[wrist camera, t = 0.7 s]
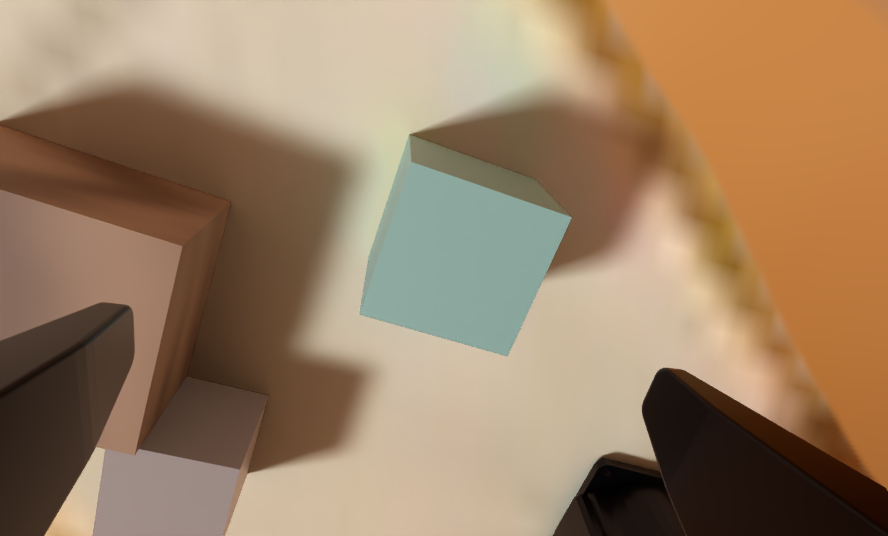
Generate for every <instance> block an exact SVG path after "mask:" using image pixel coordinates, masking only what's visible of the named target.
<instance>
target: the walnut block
mask: <svg viewBox="0 0 888 536" xmlns="http://www.w3.org/2000/svg"><path fill="white" fill-rule="evenodd" d="M230 205H231V202H230V201H227V200H224V199H221V198H218V197H215V196H212V195H209V194H206V193H203V192H200V191H197V190H194V189H191V188H188V187H185V186H182V185H179V184H176V183H173V182H170V181H167V180H164V179H161V178H158V177H155V176H152V175H149V174H146V173H143V172H140V171H137V170H134V169H131V168H128V167H125V166H122V165H119V164H116V163H113V162H110V161H107V160H104V159H101V158H98V157H95V156H92V155H89V154H86V153H83V152H80V151H77V150H74V149H71V148H68V147H65V146H62V145H59V144H56V143H53V142H50V141H47V140H44V139H41V138H38V137H35V136H32V135H29V134H26V133H23V132H20V131H17V130H14V129H11V128H8V127H5V126H2V125H0V341H1V340H3V339H6V338H9V337H11V336H14V335H16V334H19V333H22V332H24V331H27V330H29V329H32V328H35V327H37V326H40V325H43V324H45V323H48V322H50V321H53V320H56V319H58V318H61V317H63V316H66V315H69V314H71V313H74V312H77V311H79V310H82V309H84V308H87V307H90V306H92V305H95V304H97V303H101V302H107V303H115V304H124V305H128V306H130V307H131V308H132V311H133V315H134V342H135V353H134V359H133V363H132V366H131V368H130V371H129V373H128V375H127V377H126V380H125V382H124V384H123V387H122V389H121V391H120V393H119V396H118V398H117V400H116V403H115V405H114V407H113V409H112V412H111V414H110V416H109V419H108V421H107V423H106V425H105V428H104V430H103V432H102V434H101V437H100V439H99V441H98V443H97V445H96V447H99V448H103V449H108V450H112V451H116V452H121V453H125V454H129V455H134V456H135V454H136V453H137V451H138V450H139V448H140V447H141V445H142V444H143V442H144V440H145V439H146V437H147V436H148V434H149V433H150V431H151V430H152V428H153V427H154V425H155V424H156V422H157V421H158V419H159V418H160V416H161V415H162V413H163V412H164V410H165V408H166V407H167V405H168V404H169V402H170V401H171V399H172V398H173V396H174V395H175V393H176V392H177V390H178V389H179V387H180V386H181V384H182V383H183V381H184V379H185V378H186V376H187V374H188V370H189V366H190V362H191V358H192V355H193V351H194V347H195V343H196V339H197V335H198V331H199V327H200V323H201V319H202V315H203V311H204V307H205V303H206V299H207V296H208V292H209V288H210V284H211V280H212V276H213V272H214V268H215V264H216V260H217V256H218V252H219V248H220V244H221V241H222V237H223V233H224V229H225V225H226V221H227V217H228V213H229V209H230Z"/></svg>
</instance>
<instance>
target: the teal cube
mask: <svg viewBox="0 0 888 536" xmlns="http://www.w3.org/2000/svg"><path fill="white" fill-rule="evenodd" d="M571 219H572V217H571V216H570V215H569V214H568V213H567V212H566V211H565V210H564V209H563V208H562V207H561V206H560V205H559V204H558V203H557V202H556V200H555V199H554V198H553V197H552V196H551V195H550V194H549V193H548V192H547V191H546V190H545V189H544V188H543V187H542V186H541V185H540V184H539V183H538V182H537V181H536V180H535V179H533V178H530V177H528V176H525V175H522V174H519V173H516V172H514V171H511V170H508V169H505V168H502V167H499V166H497V165H494V164H491V163H488V162H485V161H483V160H480V159H477V158H474V157H471V156H469V155H466V154H463V153H460V152H457V151H455V150H452V149H449V148H446V147H443V146H441V145H438V144H435V143H432V142H429V141H427V140H424V139H421V138H418V137H415V136H413V135H410V134H409V137H408V140H407V143H406V146H405V149H404V152H403V155H402V158H401V161H400V164H399V167H398V170H397V173H396V176H395V179H394V182H393V185H392V188H391V191H390V194H389V197H388V200H387V203H386V206H385V209H384V212H383V215H382V218H381V221H380V224H379V227H378V230H377V233H376V236H375V239H374V242H373V245H372V248H371V251H370V254H369V258H368V264H367V271H366V277H365V283H364V289H363V295H362V302H361V308H360V314H359V315H363V316H367V317H370V318H374V319H377V320H381V321H384V322H388V323H391V324H395V325H398V326H402V327H405V328H409V329H412V330H416V331H419V332H423V333H427V334H430V335H434V336H437V337H441V338H444V339H448V340H451V341H455V342H458V343H462V344H465V345H469V346H472V347H476V348H479V349H483V350H487V351H490V352H494V353H497V354H501V355H504V356H508V354H509V352H510V350H511V348H512V346H513V343H514V341H515V339H516V337H517V335H518V333H519V331H520V328H521V326H522V324H523V322H524V320H525V318H526V315H527V313H528V311H529V309H530V307H531V305H532V303H533V300H534V298H535V296H536V294H537V292H538V290H539V287H540V285H541V283H542V281H543V279H544V277H545V275H546V272H547V270H548V268H549V266H550V264H551V262H552V259H553V257H554V255H555V253H556V251H557V249H558V247H559V244H560V242H561V240H562V238H563V236H564V234H565V231H566V229H567V227H568V225H569V223H570V221H571Z"/></svg>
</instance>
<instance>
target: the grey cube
mask: <svg viewBox="0 0 888 536" xmlns="http://www.w3.org/2000/svg"><path fill="white" fill-rule="evenodd" d="M267 399H268V395H264V394H260V393H256V392H251V391H247V390H243V389H238V388H234V387H230V386H226V385H221V384H217V383H213V382H208V381H204V380H200V379H195V378H191V377H187V376H186V378H185V379H184V381H183V383H182V384H181V386H180V387H179V389H178V390H177V392H176V393H175V395H174V396H173V398H172V399H171V401H170V402H169V404H168V405H167V407H166V408H165V410H164V412H163V413H162V415H161V416H160V418H159V419H158V421H157V422H156V424H155V425H154V427H153V428H152V430H151V431H150V433H149V434H148V436H147V437H146V439H145V440H144V442H143V444H142V445H141V447H140V448H139V450H138V451H137V453H136V454H135V456H134V455H129V454H125V453H121V452H116V451H112V450H108V449H105V455H104V462H103V469H102V476H101V482H100V489H99V496H98V503H97V509H96V516H95V523H94V530H93V536H225V534H226V531H227V529H228V526H229V523H230V520H231V517H232V515H233V512H234V509H235V506H236V504H237V501H238V498H239V495H240V493H241V490H242V487H243V484H244V481H245V479H246V476H247V473H248V469H249V466H250V462H251V458H252V454H253V451H254V447H255V443H256V440H257V436H258V432H259V429H260V425H261V421H262V417H263V414H264V410H265V406H266V403H267Z"/></svg>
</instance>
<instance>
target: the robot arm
mask: <svg viewBox="0 0 888 536" xmlns="http://www.w3.org/2000/svg"><path fill="white" fill-rule="evenodd" d="M134 353H135V342H134V315H133V311H132V308H131V307H130V306H128V305H124V304H115V303H107V302H101V303H97V304H95V305H92V306H90V307H87V308H84V309H82V310H79V311H77V312H74V313H71V314H69V315H66V316H63V317H61V318H58V319H56V320H53V321H50V322H48V323H45V324H43V325H40V326H37V327H35V328H32V329H29V330H27V331H24V332H22V333H19V334H16V335H14V336H11V337H9V338H6V339H3V340H1V341H0V536H44V535H45V534H46V532H47V530H48V529H49V527H50V525H51V524H52V522H53V520H54V518H55V517H56V515H57V513H58V512H59V510H60V508H61V507H62V505H63V503H64V502H65V500H66V498H67V496H68V495H69V493H70V491H71V490H72V488H73V486H74V485H75V483H76V481H77V480H78V478H79V476H80V474H81V473H82V471H83V469H84V468H85V466H86V464H87V462H88V461H89V459H90V457H91V455H92V453H93V452H94V450H95V447H96V445H97V443H98V441H99V439H100V437H101V434H102V432H103V430H104V428H105V425H106V423H107V421H108V419H109V416H110V414H111V412H112V409H113V407H114V405H115V403H116V400H117V398H118V396H119V393H120V391H121V389H122V387H123V384H124V382H125V380H126V377H127V375H128V373H129V371H130V368H131V366H132V363H133V359H134ZM642 415H643V419H644V422H645V425H646V428H647V431H648V434H649V437H650V441H651V444H652V447H653V450H654V453H655V456H656V459H657V462H658V466H659V469H660V472H661V473H660V472H656V471H652V470H648V469H644V468H640V467H636V466H632V465H628V464H624V463H621V462H617V461H613V460H609V459H602V460H599V461H597V462H596V463H595V464H594V465H593V467H592V469H591V471H590V472H589V474H588V476H587V478H586V479H585V481H584V483H583V484H582V486H581V488H580V490H579V491H578V493H577V495H576V496H575V497H574V499H573V501H572V502H571V504H570V506H569V508H568V509H567V511H566V513H565V514H564V516H563V518H562V520H561V521H560V523H559V525H558V527H557V528H556V530H555V533H554V535H553V536H888V491H887V489H886V488H885V487H883V486H882V485H880V484H878V483H876V482H875V481H873V480H871V479H870V478H868V477H866V476H864V475H863V474H861V473H859V472H858V471H856V470H854V469H852V468H851V467H849V466H847V465H846V464H844V463H842V462H840V461H839V460H837V459H835V458H834V457H832V456H830V455H828V454H827V453H825V452H823V451H822V450H820V449H818V448H816V447H815V446H813V445H811V444H810V443H808V442H806V441H805V440H803V439H801V438H799V437H798V436H796V435H794V434H793V433H791V432H789V431H787V430H786V429H784V428H782V427H781V426H779V425H777V424H775V423H774V422H772V421H770V420H769V419H767V418H765V417H763V416H762V415H760V414H758V413H757V412H755V411H753V410H751V409H750V408H748V407H746V406H745V405H743V404H741V403H739V402H738V401H736V400H734V399H733V398H731V397H729V396H727V395H726V394H724V393H722V392H721V391H719V390H717V389H715V388H714V387H712V386H710V385H709V384H707V383H705V382H703V381H702V380H700V379H698V378H697V377H695V376H693V375H691V374H690V373H688V372H686V371H684V370H681V369H673V368H662V369H660V370H659V371H658V372H657V373H656V375H655V377H654V379H653V381H652V383H651V386H650V388H649V390H648V392H647V394H646V396H645V399H644V401H643V404H642ZM605 469H607V470H605ZM603 470H605V471H603Z"/></svg>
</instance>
